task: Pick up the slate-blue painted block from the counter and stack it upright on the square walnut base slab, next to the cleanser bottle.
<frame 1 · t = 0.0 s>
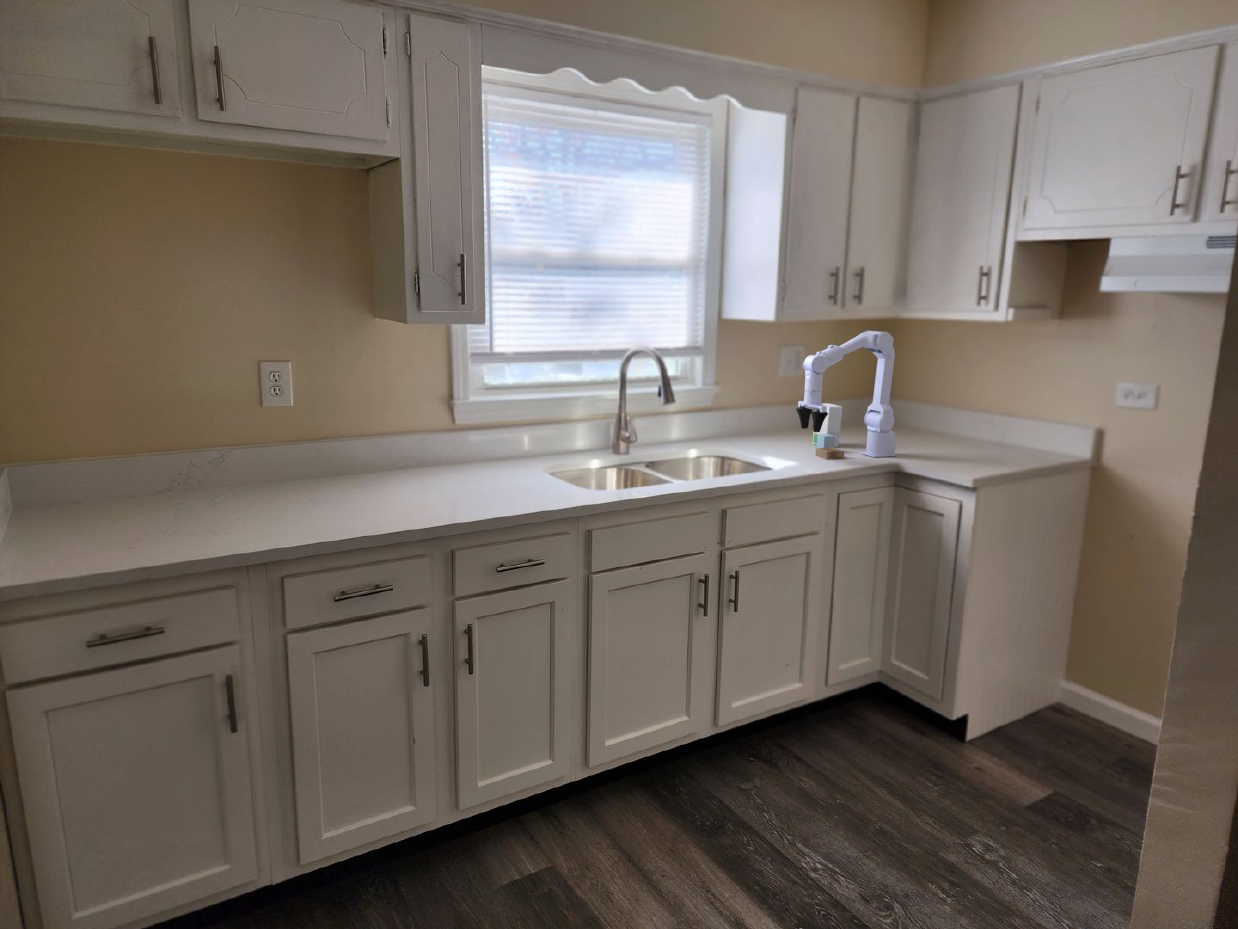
hand: (810, 430, 280), 10 cm above the counter, tool pointing down, fingers open, 7 cm apart
blue block: (825, 451, 296), on the counter
walnut base: (829, 457, 286), on the counter
skincare box: (825, 446, 308), on the counter
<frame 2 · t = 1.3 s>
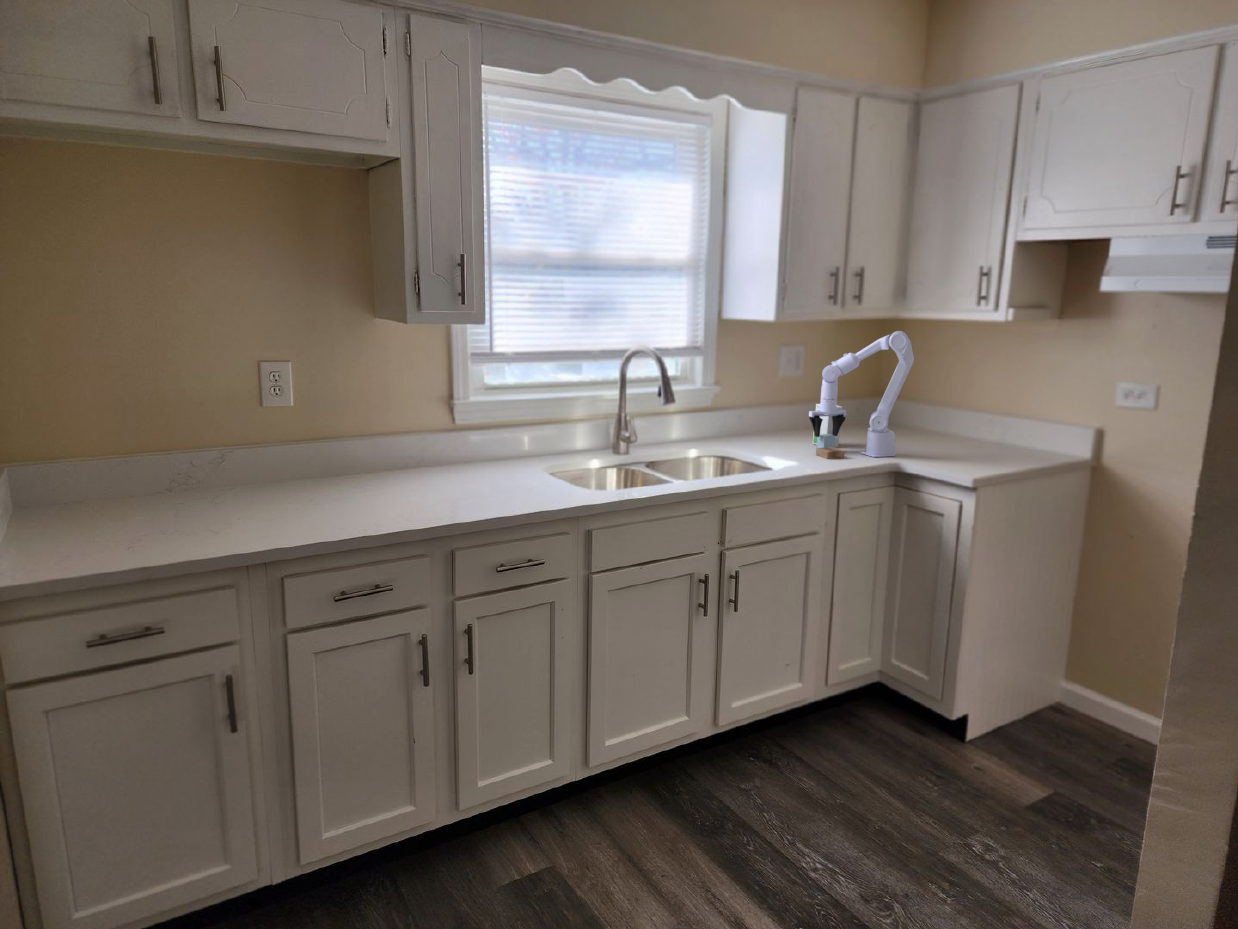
hand: (826, 436, 295), 6 cm above the counter, tool pointing down, fingers open, 7 cm apart
nothing on the counter moved.
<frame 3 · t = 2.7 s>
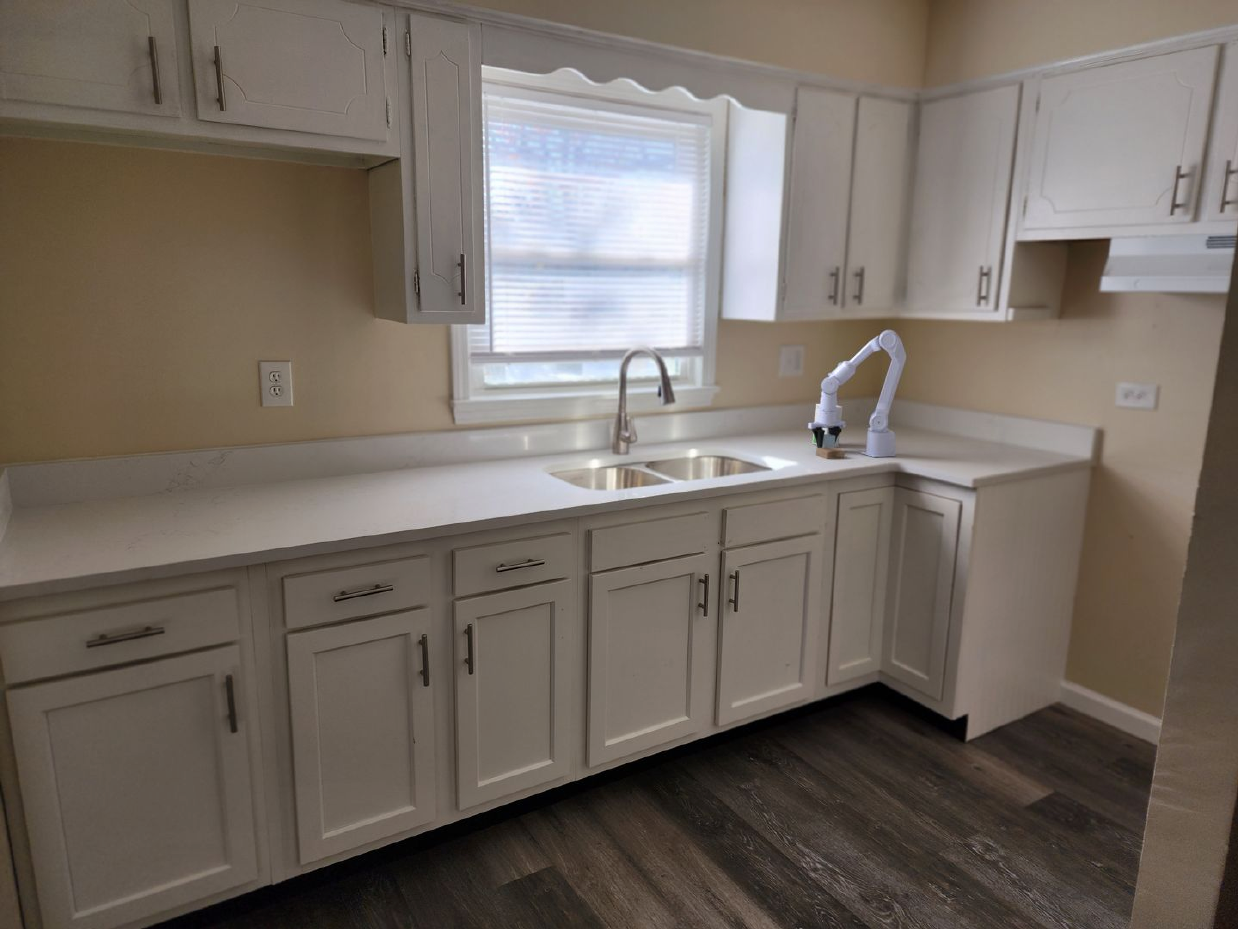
hand: (825, 447, 296), 1 cm above the counter, tool pointing down, fingers closed on blue block, 4 cm apart
blue block: (825, 451, 296), on the counter, touching gripper
everything else where it was.
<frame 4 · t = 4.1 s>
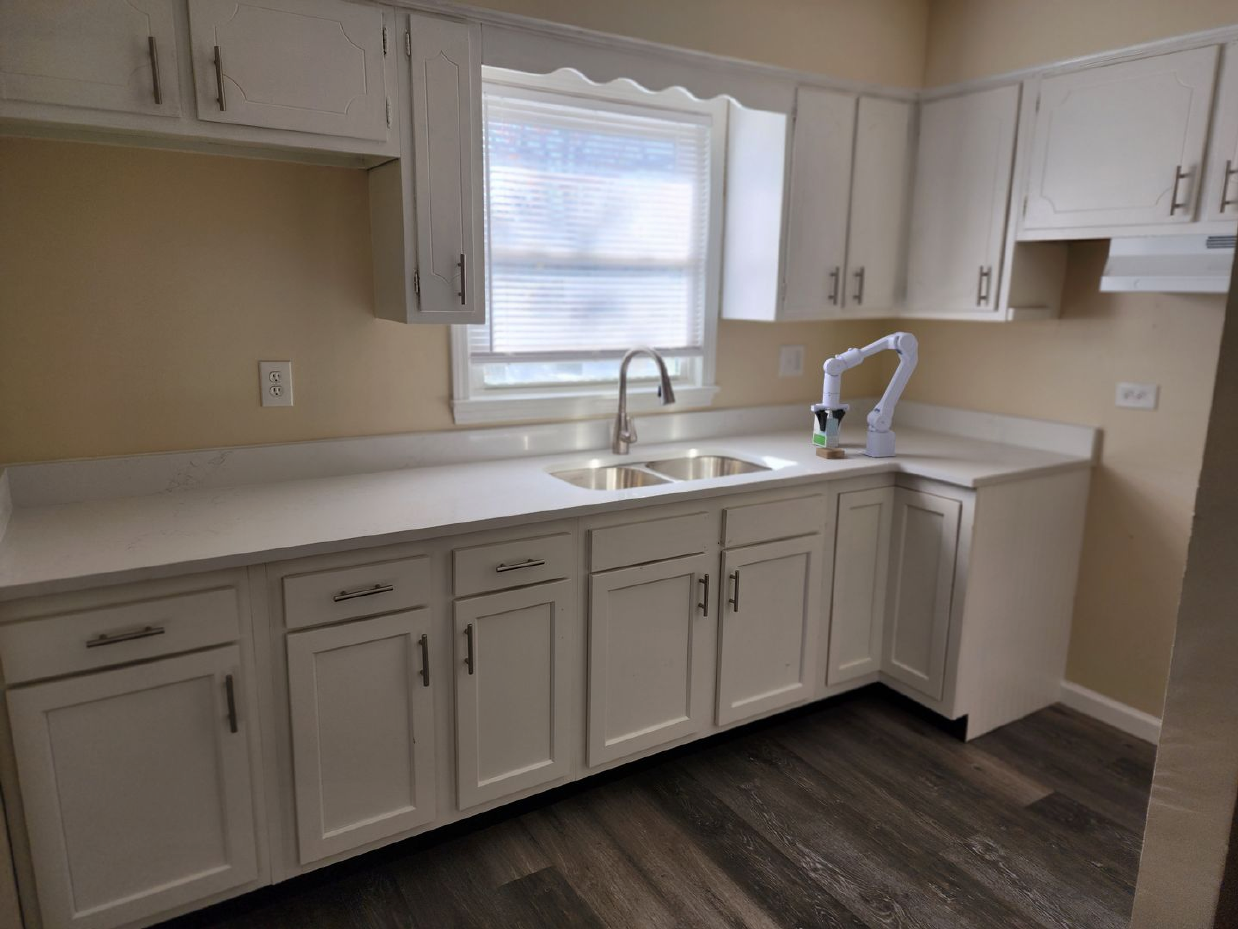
hand: (828, 430, 290), 8 cm above the counter, tool pointing down, fingers closed on blue block, 4 cm apart
blue block: (828, 435, 290), point 7 cm above the counter, touching gripper
everything else where it was.
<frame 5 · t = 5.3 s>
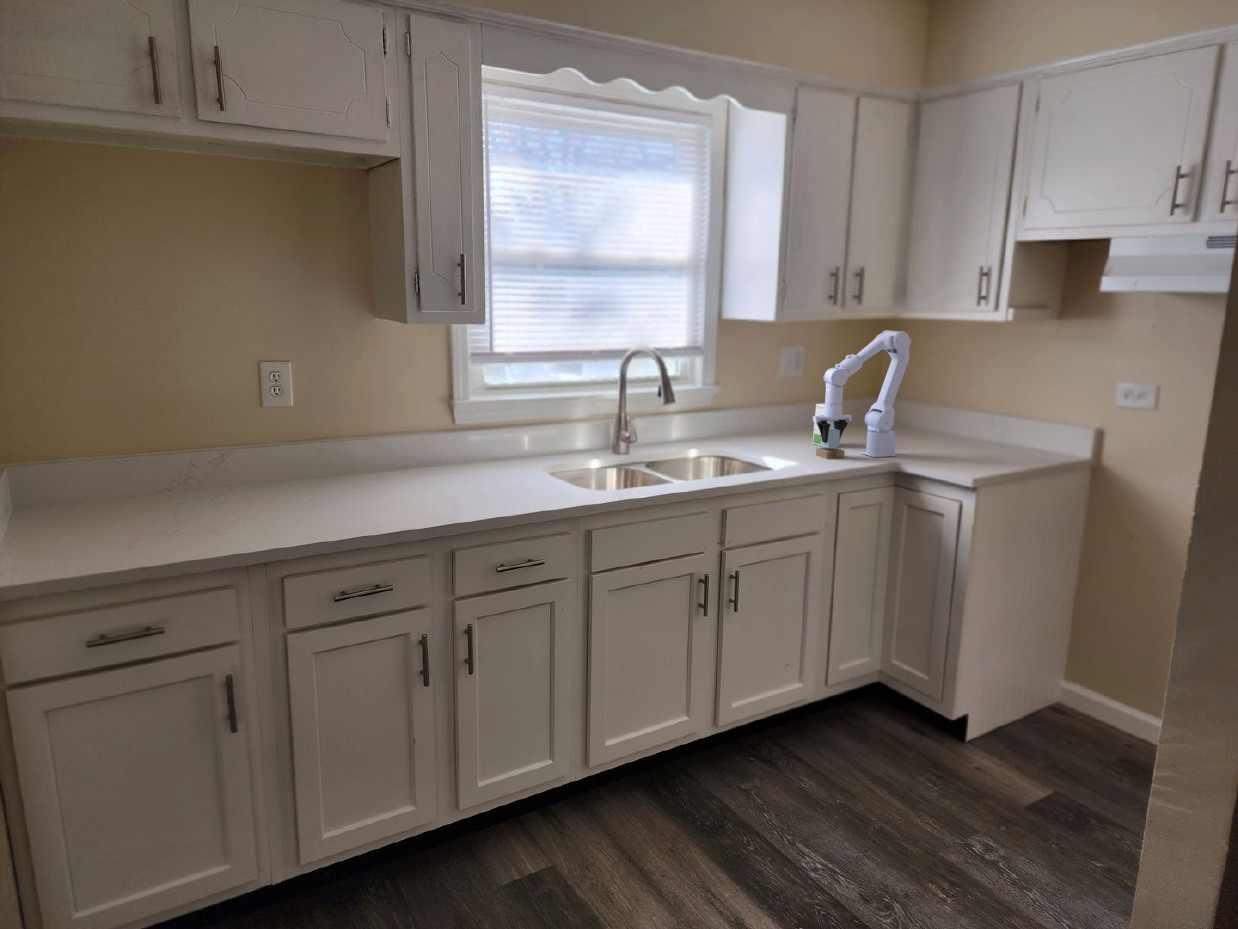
hand: (830, 441, 285), 5 cm above the counter, tool pointing down, fingers closed on blue block, 4 cm apart
blue block: (829, 446, 286), point 4 cm above the counter, touching gripper
everything else where it was.
when the fingers open (5 cm above the counter, at t = 5.8 s): blue block drops 1 cm, point 3 cm above the counter.
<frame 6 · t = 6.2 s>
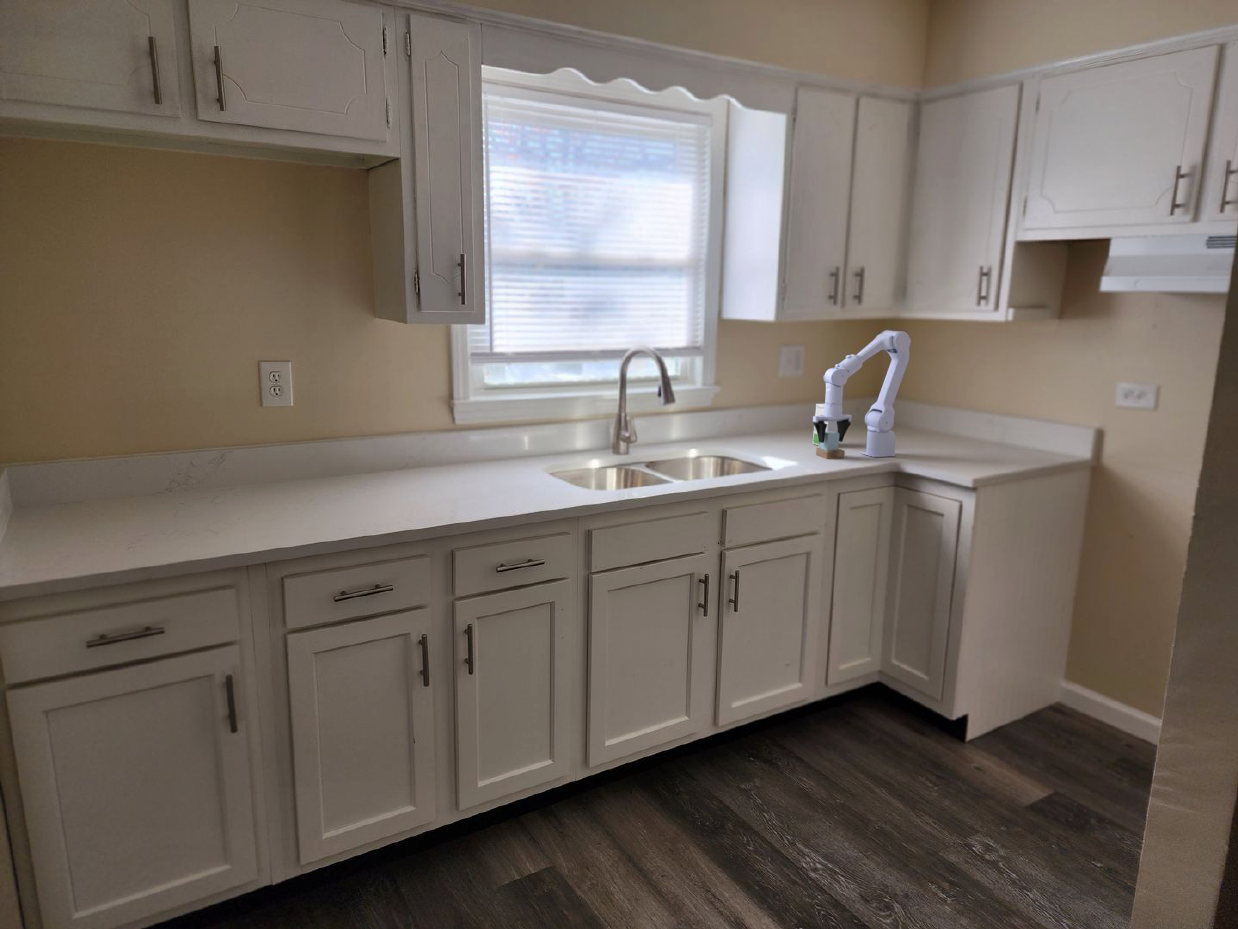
hand: (830, 441, 285), 5 cm above the counter, tool pointing down, fingers open, 7 cm apart
blue block: (829, 449, 286), point 3 cm above the counter
everything else where it was.
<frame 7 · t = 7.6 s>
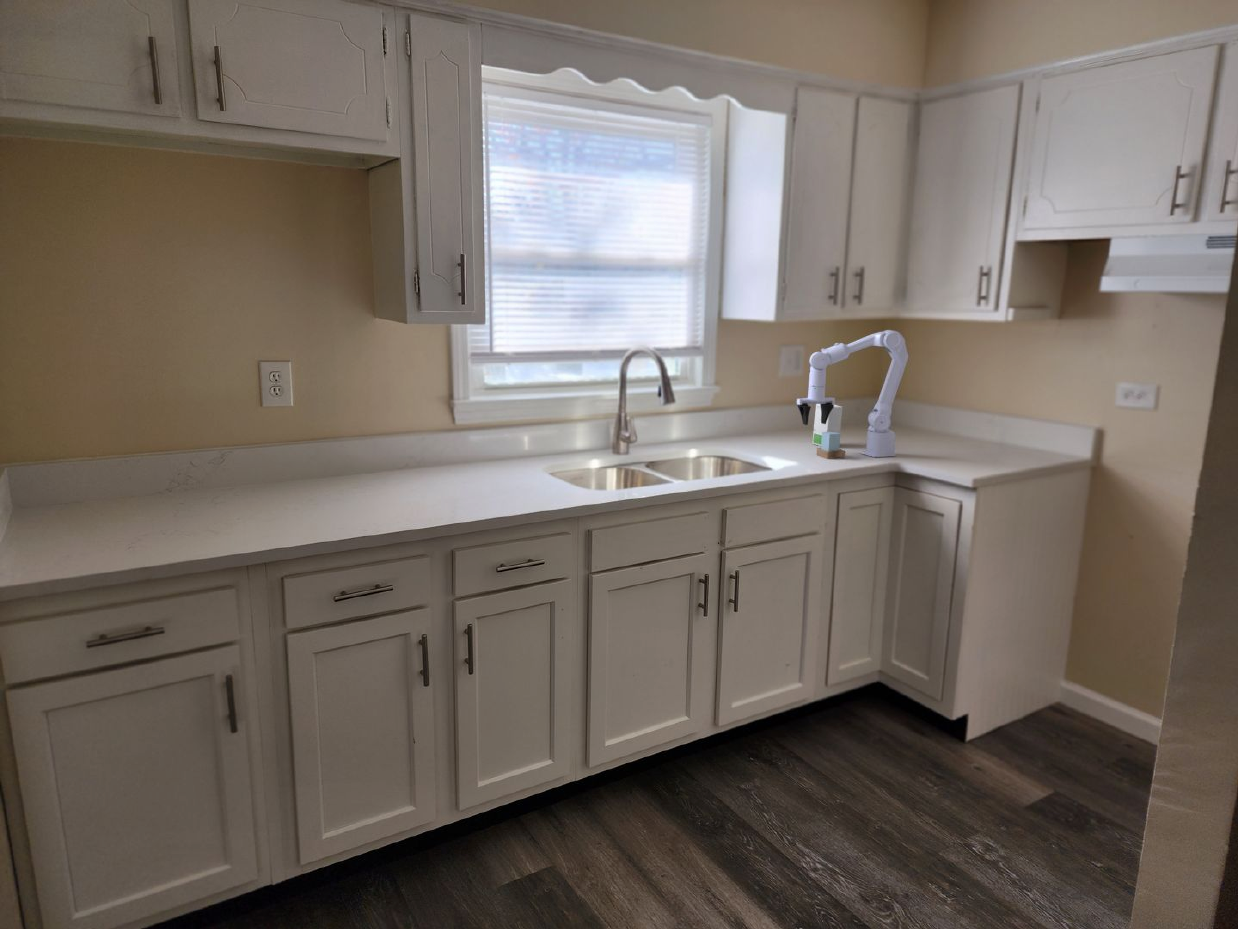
hand: (814, 424, 291), 10 cm above the counter, tool pointing down, fingers open, 7 cm apart
nothing on the counter moved.
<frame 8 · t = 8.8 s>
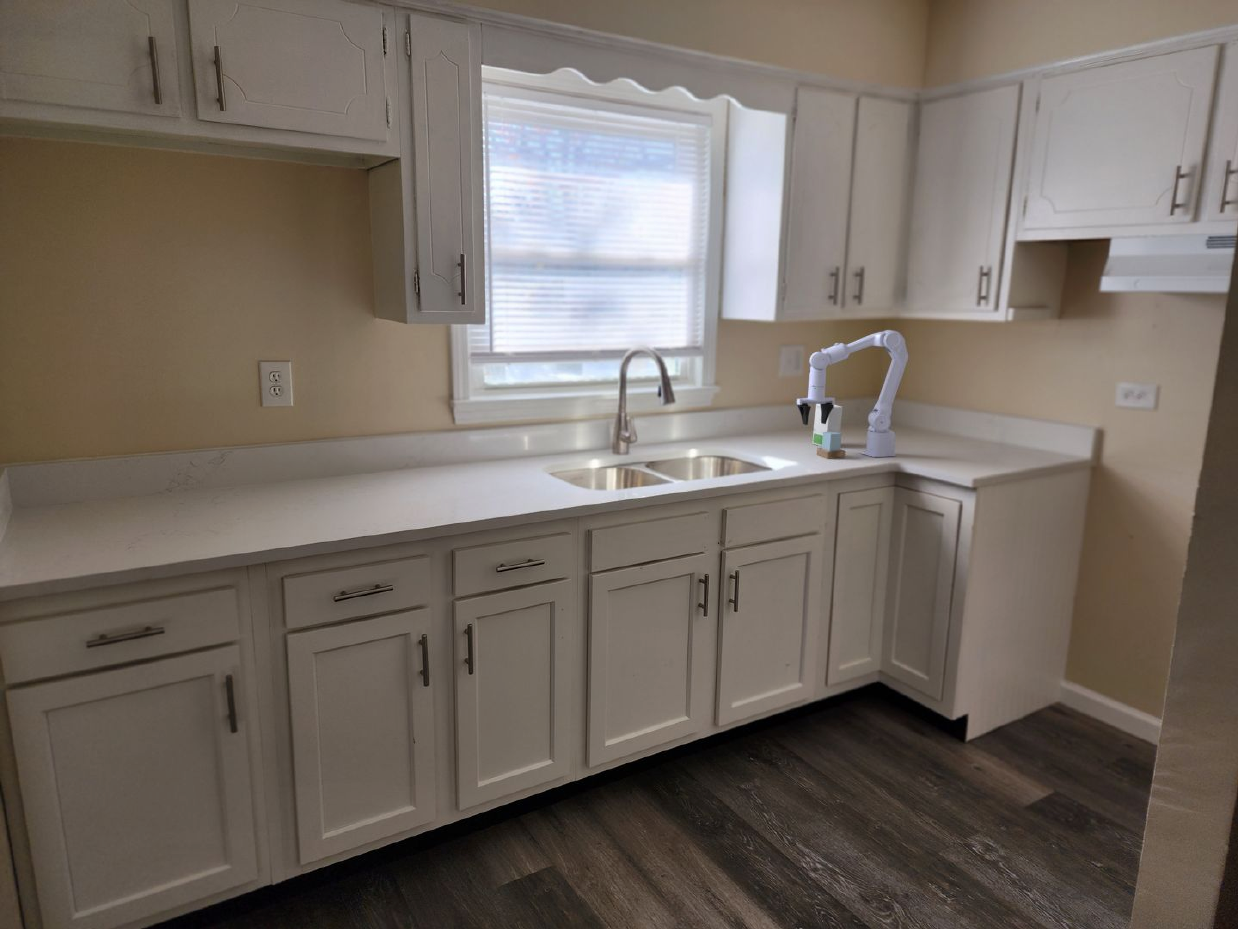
hand: (814, 424, 291), 10 cm above the counter, tool pointing down, fingers open, 7 cm apart
blue block: (830, 449, 286), point 3 cm above the counter, touching walnut base
walnut base: (830, 457, 287), on the counter, touching blue block
everything else where it was.
at the end: blue block 0.5 cm off-centre on the walnut base, point 3.0 cm above the walnut base's base; blue block tilted 1°; the gripper is holding nothing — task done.
